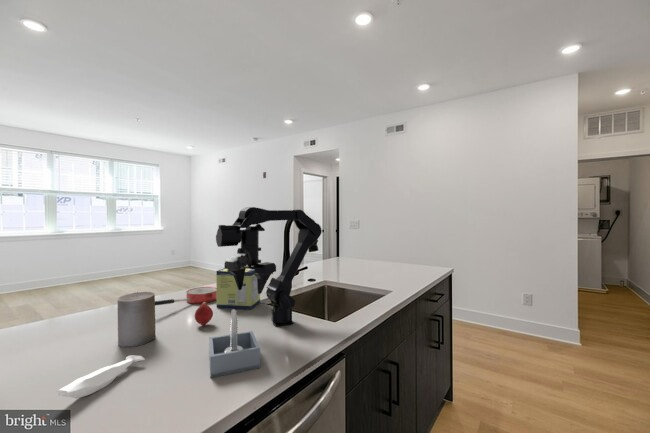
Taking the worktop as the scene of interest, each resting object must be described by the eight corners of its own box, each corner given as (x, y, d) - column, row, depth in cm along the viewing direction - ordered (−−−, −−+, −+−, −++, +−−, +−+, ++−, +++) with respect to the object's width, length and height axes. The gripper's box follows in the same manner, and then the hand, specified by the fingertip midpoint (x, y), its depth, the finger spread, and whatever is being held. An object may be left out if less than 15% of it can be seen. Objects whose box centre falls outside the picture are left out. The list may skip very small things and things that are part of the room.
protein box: (227, 300, 130) (227, 266, 130) (260, 302, 127) (260, 267, 127) (215, 308, 119) (215, 270, 119) (251, 310, 117) (251, 271, 117)
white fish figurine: (50, 407, 57) (50, 387, 57) (127, 364, 75) (127, 349, 75) (73, 411, 56) (73, 390, 56) (145, 366, 74) (146, 350, 74)
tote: (252, 348, 83) (252, 330, 83) (259, 367, 72) (259, 348, 72) (209, 355, 79) (209, 337, 79) (210, 377, 68) (210, 356, 68)
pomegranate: (206, 329, 97) (206, 305, 97) (191, 327, 98) (191, 304, 98) (216, 323, 103) (216, 300, 103) (201, 321, 104) (201, 299, 104)
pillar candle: (150, 331, 95) (150, 286, 95) (159, 340, 88) (158, 291, 88) (114, 340, 88) (114, 291, 88) (121, 351, 81) (120, 298, 81)
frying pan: (172, 321, 105) (172, 303, 105) (142, 317, 108) (142, 300, 108) (223, 296, 136) (223, 283, 136) (199, 295, 139) (199, 281, 139)
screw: (243, 361, 74) (223, 364, 73) (243, 352, 79) (224, 355, 77) (243, 311, 74) (223, 312, 73) (243, 305, 79) (224, 306, 77)
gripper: (210, 245, 94) (210, 293, 94) (251, 249, 84) (251, 302, 84) (237, 242, 103) (237, 286, 103) (277, 245, 93) (277, 293, 93)
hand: (249, 291), depth 96 cm, fingers open, 9 cm apart
